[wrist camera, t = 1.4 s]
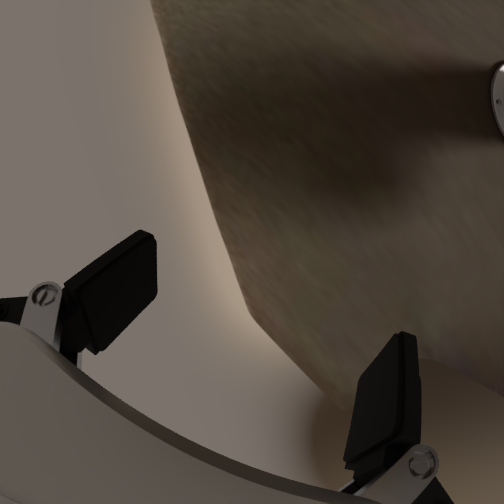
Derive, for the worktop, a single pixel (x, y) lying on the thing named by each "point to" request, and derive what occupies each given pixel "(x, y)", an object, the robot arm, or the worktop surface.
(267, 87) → the worktop surface
